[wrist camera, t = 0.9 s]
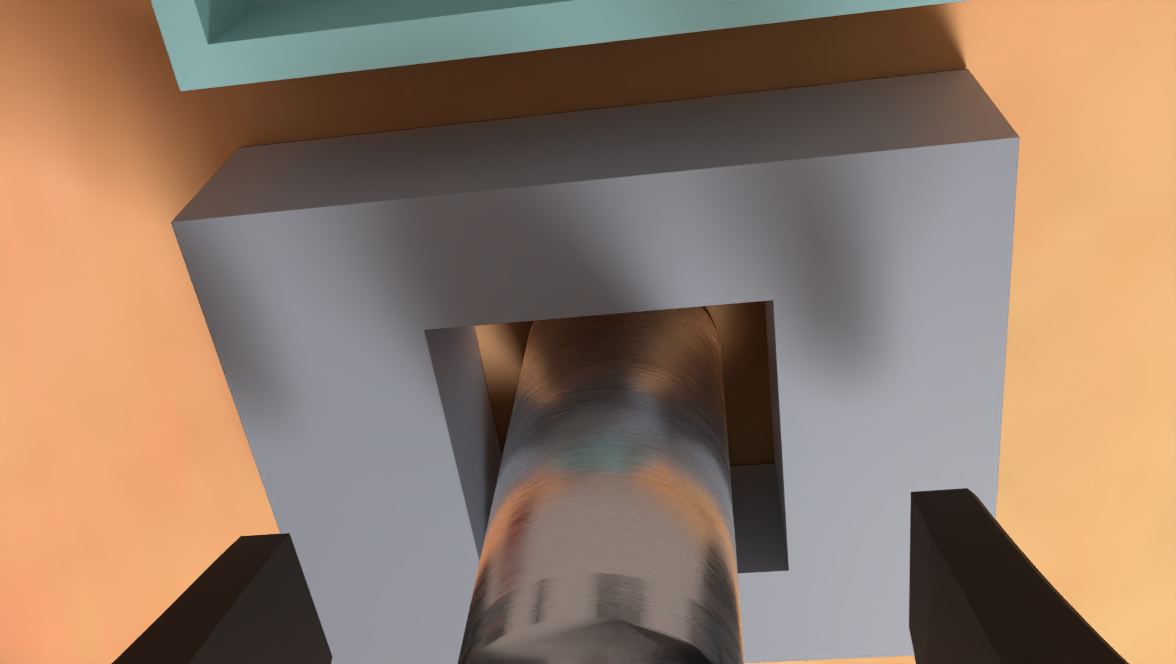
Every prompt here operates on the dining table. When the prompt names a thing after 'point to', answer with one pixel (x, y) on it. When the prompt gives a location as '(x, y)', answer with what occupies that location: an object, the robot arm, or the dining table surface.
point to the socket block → (609, 286)
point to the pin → (612, 501)
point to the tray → (434, 30)
